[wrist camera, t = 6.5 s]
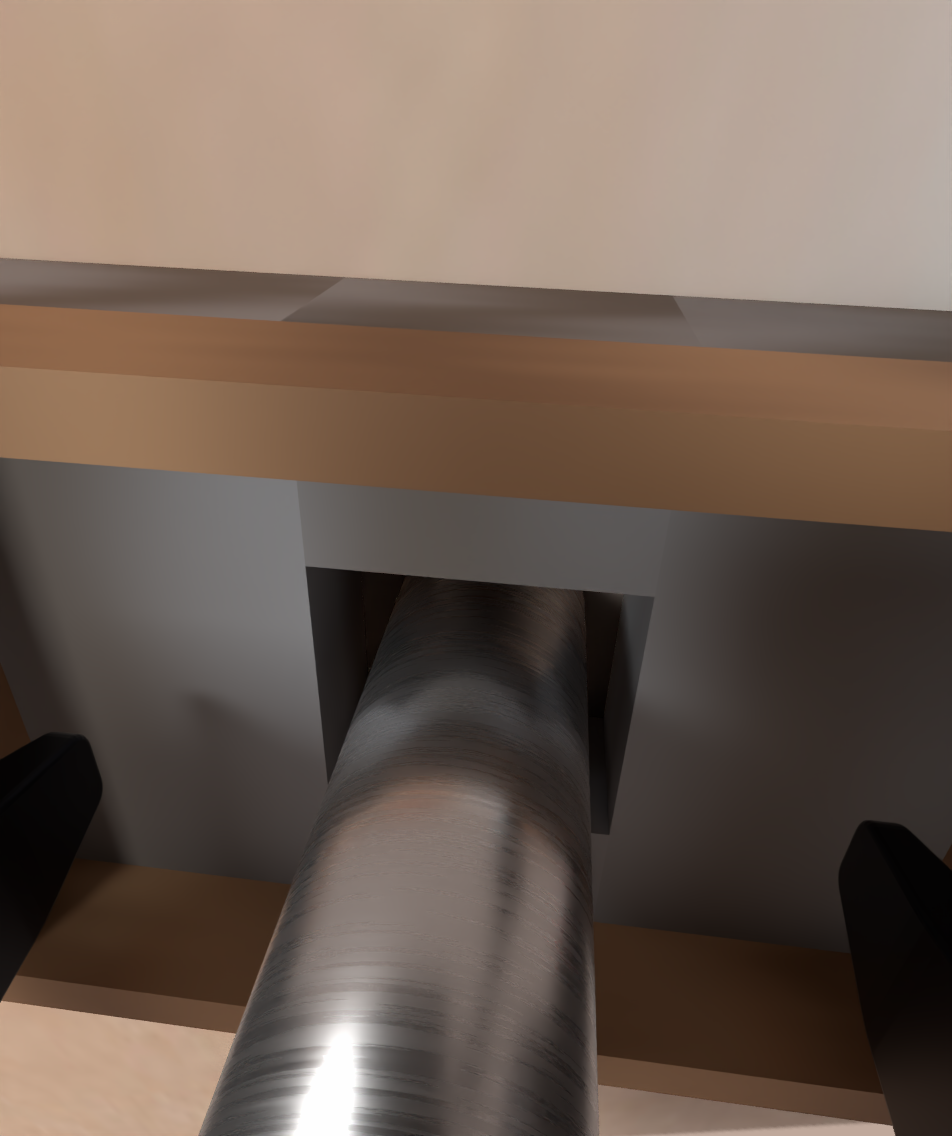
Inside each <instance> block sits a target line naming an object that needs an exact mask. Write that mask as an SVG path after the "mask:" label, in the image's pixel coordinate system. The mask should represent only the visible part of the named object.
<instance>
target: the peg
mask: <svg viewBox="0 0 952 1136" xmlns="http://www.w3.org/2000/svg"><path fill="white" fill-rule="evenodd" d="M199 1136H599V1115H598V1077H597V1040H596V1002H595V964H594V927H593V889H592V852H591V814H590V777H589V739H588V701H587V664H586V626H585V601H584V594H583V591H582V590H571V589H559V588H548V587H537V586H525V585H514V584H503V583H491V582H480V581H468V580H457V579H446V578H434V577H423V576H411V575H406V576H405V578H404V581H403V584H402V586H401V589H400V592H399V595H398V597H397V600H396V603H395V605H394V608H393V611H392V614H391V616H390V619H389V622H388V624H387V627H386V630H385V632H384V635H383V638H382V641H381V643H380V646H379V649H378V651H377V654H376V657H375V659H374V662H373V665H372V668H371V670H370V673H369V676H368V678H367V681H366V684H365V687H364V689H363V692H362V695H361V697H360V700H359V703H358V705H357V708H356V711H355V714H354V716H353V719H352V722H351V724H350V727H349V730H348V733H347V735H346V738H345V741H344V743H343V746H342V749H341V751H340V754H339V757H338V760H337V762H336V765H335V768H334V770H333V773H332V776H331V779H330V781H329V784H328V787H327V789H326V792H325V795H324V797H323V800H322V803H321V806H320V808H319V811H318V814H317V816H316V819H315V822H314V824H313V827H312V830H311V833H310V835H309V838H308V841H307V843H306V846H305V849H304V852H303V854H302V857H301V860H300V862H299V865H298V868H297V870H296V873H295V876H294V879H293V881H292V884H291V887H290V889H289V892H288V895H287V898H286V900H285V903H284V906H283V908H282V911H281V914H280V916H279V919H278V922H277V925H276V927H275V930H274V933H273V935H272V938H271V941H270V943H269V946H268V949H267V952H266V954H265V957H264V960H263V962H262V965H261V968H260V971H259V973H258V976H257V979H256V981H255V984H254V987H253V989H252V992H251V995H250V998H249V1000H248V1003H247V1006H246V1008H245V1011H244V1014H243V1017H242V1019H241V1022H240V1025H239V1027H238V1030H237V1033H236V1035H235V1038H234V1041H233V1044H232V1046H231V1049H230V1052H229V1054H228V1057H227V1060H226V1063H225V1065H224V1068H223V1071H222V1073H221V1076H220V1079H219V1081H218V1084H217V1087H216V1090H215V1092H214V1095H213V1098H212V1100H211V1103H210V1106H209V1108H208V1111H207V1114H206V1117H205V1119H204V1122H203V1125H202V1127H201V1130H200V1133H199Z"/></svg>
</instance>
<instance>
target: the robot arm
mask: <svg viewBox="0 0 952 1136" xmlns="http://www.w3.org/2000/svg"><path fill="white" fill-rule="evenodd" d="M102 791H103V782H102V777H101V774H100V771H99V768H98V765H97V762H96V759H95V756H94V753H93V750H92V747H91V744H90V742H89V740H88V739H87V738H86V737H85V736H84V735H81V734H75V733H66V732H49V733H46V734H44V735H42V736H40V737H38V738H37V739H35V740H33V741H31V742H30V743H28V744H26V745H24V746H23V747H21V748H19V749H17V750H16V751H14V752H12V753H10V754H9V755H7V756H5V757H3V758H2V759H0V1002H1V1001H2V999H3V997H4V995H5V994H6V992H7V990H8V988H9V987H10V985H11V983H12V981H13V979H14V978H15V976H16V974H17V972H18V971H19V969H20V967H21V965H22V964H23V962H24V960H25V958H26V957H27V955H28V953H29V951H30V950H31V948H32V946H33V944H34V943H35V941H36V939H37V937H38V935H39V933H40V931H41V930H42V928H43V926H44V924H45V922H46V920H47V918H48V916H49V914H50V912H51V910H52V908H53V906H54V904H55V902H56V899H57V897H58V895H59V893H60V890H61V888H62V886H63V884H64V881H65V879H66V877H67V875H68V872H69V870H70V868H71V866H72V863H73V861H74V859H75V857H76V855H77V852H78V850H79V848H80V846H81V843H82V841H83V839H84V837H85V834H86V832H87V830H88V828H89V825H90V823H91V821H92V819H93V817H94V814H95V812H96V810H97V808H98V805H99V803H100V800H101V797H102ZM838 886H839V892H840V898H841V903H842V909H843V914H844V920H845V925H846V931H847V936H848V942H849V947H850V953H851V958H852V964H853V969H854V975H855V980H856V986H857V991H858V997H859V1002H860V1007H861V1012H862V1017H863V1022H864V1026H865V1031H866V1035H867V1038H868V1042H869V1046H870V1050H871V1053H872V1057H873V1060H874V1064H875V1067H876V1071H877V1074H878V1078H879V1081H880V1084H881V1088H882V1091H883V1095H884V1098H885V1101H886V1105H887V1108H888V1112H889V1115H890V1119H891V1122H892V1125H893V1129H894V1132H895V1136H952V870H951V869H950V868H949V867H948V866H947V865H946V864H945V863H944V862H943V861H942V860H941V859H940V858H938V857H937V856H936V855H935V854H934V853H933V852H932V851H931V850H930V849H929V848H928V847H927V846H926V845H925V844H924V843H923V842H922V841H921V840H920V839H919V838H918V837H917V836H915V835H914V834H913V833H912V832H911V831H910V830H909V829H908V828H906V827H905V826H903V825H901V824H898V823H892V822H883V821H874V820H865V821H863V822H861V823H860V824H859V825H858V827H857V829H856V831H855V833H854V835H853V837H852V840H851V842H850V844H849V846H848V849H847V851H846V853H845V855H844V857H843V860H842V862H841V864H840V868H839V873H838Z"/></svg>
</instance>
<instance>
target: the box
mask: <svg viewBox="0 0 952 1136" xmlns="http://www.w3.org/2000/svg"><path fill="white" fill-rule="evenodd" d="M362 571H366V572H377V573H389V574H400V575H411V576H423V577H434V578H446V579H457V580H468V581H480V582H491V583H503V584H514V585H525V586H537V587H548V588H559V589H571V590H582V591H594V592H605V593H616V594H624V595H623V601H622V607H621V613H620V619H619V625H618V631H617V637H616V644H615V650H614V656H613V662H612V668H611V674H610V680H609V686H608V692H607V699H606V705H605V711H604V717H603V718H595V717H588V739H589V777H590V814H591V852H592V889H593V927H594V964H595V1002H596V1040H597V1077H598V1084H599V1085H607V1086H614V1087H621V1088H628V1089H635V1090H642V1091H649V1092H656V1093H664V1094H671V1095H678V1096H685V1097H692V1098H699V1099H706V1100H714V1101H721V1102H728V1103H735V1104H742V1105H749V1106H756V1107H763V1108H771V1109H778V1110H785V1111H792V1112H799V1113H806V1114H813V1115H820V1116H828V1117H835V1118H842V1119H849V1120H856V1121H863V1122H870V1123H878V1124H885V1125H892V1122H891V1119H890V1115H889V1112H888V1108H887V1105H886V1101H885V1098H884V1095H883V1091H882V1088H881V1084H880V1081H879V1078H878V1074H877V1071H876V1067H875V1064H874V1060H873V1057H872V1053H871V1050H870V1046H869V1042H868V1038H867V1035H866V1031H865V1026H864V1022H863V1017H862V1012H861V1007H860V1002H859V997H858V991H857V986H856V980H855V975H854V969H853V964H852V958H851V953H850V947H849V942H848V936H847V931H846V925H845V920H844V914H843V909H842V903H841V898H840V892H839V886H838V873H839V868H840V864H841V862H842V860H843V857H844V855H845V853H846V851H847V849H848V846H849V844H850V842H851V840H852V837H853V835H854V833H855V831H856V829H857V827H858V825H859V824H860V823H861V822H863V821H865V820H874V821H883V822H892V823H898V824H901V825H903V826H905V827H906V828H908V829H909V830H910V831H911V832H912V833H913V834H914V835H915V836H917V837H918V838H919V839H920V840H921V841H922V842H923V843H924V844H925V845H926V846H927V847H928V848H929V849H930V850H931V851H932V852H933V853H934V854H935V855H936V856H937V857H938V858H940V859H941V860H942V861H943V862H944V863H945V864H946V865H947V866H948V867H949V868H950V869H951V870H952V311H936V310H918V309H900V308H882V307H865V306H847V305H829V304H811V303H793V302H775V301H757V300H739V299H721V298H703V297H686V296H668V295H650V294H632V293H614V292H596V291H578V290H560V289H542V288H524V287H507V286H489V285H471V284H453V283H435V282H417V281H399V280H381V279H363V278H345V277H328V276H310V275H292V274H274V273H256V272H238V271H220V270H202V269H184V268H166V267H149V266H131V265H113V264H95V263H77V262H59V261H41V260H23V259H5V258H0V759H2V758H3V757H5V756H7V755H9V754H10V753H12V752H14V751H16V750H17V749H19V748H21V747H23V746H24V745H26V744H28V743H30V742H31V741H33V740H35V739H37V738H38V737H40V736H42V735H44V734H46V733H49V732H66V733H75V734H81V735H84V736H85V737H86V738H87V739H88V740H89V742H90V744H91V747H92V750H93V753H94V756H95V759H96V762H97V765H98V768H99V771H100V774H101V777H102V782H103V791H102V797H101V800H100V803H99V805H98V808H97V810H96V812H95V814H94V817H93V819H92V821H91V823H90V825H89V828H88V830H87V832H86V834H85V837H84V839H83V841H82V843H81V846H80V848H79V850H78V852H77V855H76V857H75V859H74V861H73V863H72V866H71V868H70V870H69V872H68V875H67V877H66V879H65V881H64V884H63V886H62V888H61V890H60V893H59V895H58V897H57V899H56V902H55V904H54V906H53V908H52V910H51V912H50V914H49V916H48V918H47V920H46V922H45V924H44V926H43V928H42V930H41V931H40V933H39V935H38V937H37V939H36V941H35V943H34V944H33V946H32V948H31V950H30V951H29V953H28V955H27V957H26V958H25V960H24V962H23V964H22V965H21V967H20V969H19V971H18V972H17V974H16V976H15V978H14V979H13V981H12V983H11V985H10V987H9V988H8V990H7V992H6V994H5V995H4V997H3V999H2V1001H8V1002H15V1003H22V1004H29V1005H36V1006H43V1007H50V1008H58V1009H65V1010H72V1011H79V1012H86V1013H93V1014H100V1015H107V1016H115V1017H122V1018H129V1019H136V1020H143V1021H150V1022H157V1023H165V1024H172V1025H179V1026H186V1027H193V1028H200V1029H207V1030H214V1031H222V1032H229V1033H237V1030H238V1027H239V1025H240V1022H241V1019H242V1017H243V1014H244V1011H245V1008H246V1006H247V1003H248V1000H249V998H250V995H251V992H252V989H253V987H254V984H255V981H256V979H257V976H258V973H259V971H260V968H261V965H262V962H263V960H264V957H265V954H266V952H267V949H268V946H269V943H270V941H271V938H272V935H273V933H274V930H275V927H276V925H277V922H278V919H279V916H280V914H281V911H282V908H283V906H284V903H285V900H286V898H287V895H288V892H289V889H290V887H291V884H292V881H293V879H294V876H295V873H296V870H297V868H298V865H299V862H300V860H301V857H302V854H303V852H304V849H305V846H306V843H307V841H308V838H309V835H310V833H311V830H312V827H313V824H314V822H315V819H316V816H317V814H318V811H319V808H320V806H321V803H322V800H323V797H324V795H325V792H326V789H327V787H328V784H329V781H330V779H331V776H332V773H333V770H334V768H335V765H336V762H337V760H338V757H339V754H340V751H341V749H342V746H343V743H344V741H345V738H346V735H347V733H348V730H349V727H350V724H351V722H352V719H353V716H354V714H355V711H356V708H357V705H358V703H359V700H360V697H361V695H362V692H363V689H364V687H365V684H366V681H367V678H368V673H367V655H366V638H365V620H364V602H363V584H362ZM892 1126H893V1125H892Z"/></svg>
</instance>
